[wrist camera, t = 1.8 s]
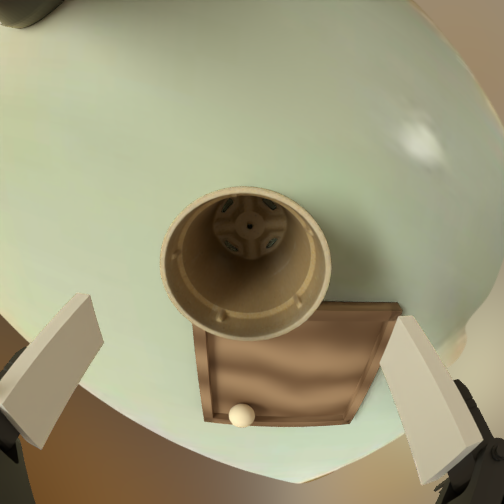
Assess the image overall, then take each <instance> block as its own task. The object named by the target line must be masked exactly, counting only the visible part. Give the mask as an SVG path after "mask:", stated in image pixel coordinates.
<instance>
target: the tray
mask: <svg viewBox="0 0 504 504" xmlns="http://www.w3.org/2000/svg"><path fill="white" fill-rule="evenodd" d="M401 314H402V309H401V307H400V306H399V304H398V303H397V302H330V301H322V302H321V304H320V305H319V307H318V308H317V309H316V311H314V313H313V314H312V315H311V316H310V317H309V318H308V319H307V320H306V321H305V322H304V323H302V324H301V325H300V326H299V327H297V328H295V329H293V330H292V331H290V332H288V333H286V334H283V335H281V336H278V337H274V338H271V339H266V340H258V341H238V340H231V339H226V338H222V337H219V336H216V335H214V334H211V333H209V332H207V331H205V330H203V329H201V328H199V327H198V326H196V325H194V324H193V323H192V326H193V336H194V346H195V355H196V364H197V372H198V380H199V388H200V395H201V402H202V409H203V416H204V422H213V423H222V424H232V423H231V421H230V419H229V412H230V410H231V408H232V407H233V406H235V405H237V404H247V405H249V406H250V407H251V408H252V409H253V410H254V413H255V419H254V421H253V423H252V424H251V425H249V426H269V427H307V426H329V425H342V424H350V422H351V421H352V419H353V417H354V415H355V414H356V412H357V410H358V408H359V406H360V405H361V403H362V401H363V399H364V397H365V395H366V393H367V391H368V389H369V387H370V385H371V383H372V381H373V379H374V377H375V375H376V373H377V371H378V369H379V367H380V361H381V358H382V356H383V354H384V351H385V349H386V347H387V344H388V342H389V339H390V337H391V334H392V332H393V329H394V326H395V324H396V321H397V318H398V316H401Z"/></svg>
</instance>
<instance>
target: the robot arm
mask: <svg viewBox="0 0 504 504" xmlns="http://www.w3.org/2000/svg"><path fill="white" fill-rule="evenodd" d="M63 1H64V0H0V24H1V25H3V26H7V27H12V28H24V27H27V26H30V25H32V24H34V23H36V22H37V21H39V20H40V19H42V18H43V17H45V16H46V15H47V14H49V13H50V12H51V11H52V10H54V9H55V8H56V7H57V6H58V5H59V4H60V3H62V2H63ZM103 344H104V341H103V338H102V335H101V332H100V328H99V325H98V322H97V318H96V315H95V311H94V308H93V304H92V300H91V296H90V295H89V294H82V293H76V294H75V295H74V296H73V297H72V298H71V299H70V300H69V301H68V302H67V303H66V304H65V306H64V307H63V308H62V309H61V310H60V311H59V312H58V313H57V314H56V315H55V316H54V317H53V318H52V319H51V321H50V322H49V323H48V324H47V325H46V326H45V327H44V328H43V329H42V331H41V332H40V333H39V334H38V335H37V336H36V337H35V339H34V340H33V341H32V342H31V343H30V344H29V346H28V347H24V348H22V349H21V350H20V351H18V352H16V353H15V355H14V356H13V357H12V358H11V360H10V361H9V363H7V364H6V366H5V367H4V370H2V371H1V372H0V504H35V501H34V498H33V494H32V491H31V487H30V483H29V479H28V475H27V471H26V467H25V462H24V457H23V452H22V447H21V443H20V440H19V438H18V436H19V434H21V435H22V436H23V438H24V439H25V440H26V441H27V442H29V443H30V444H32V445H34V446H35V447H37V448H39V449H41V450H42V448H43V446H44V444H45V442H46V440H47V438H48V436H49V434H50V432H51V431H52V429H53V427H54V425H55V423H56V421H57V420H58V418H59V416H60V414H61V412H62V411H63V409H64V407H65V405H66V404H67V401H68V400H69V398H70V397H71V395H72V393H73V392H74V390H75V388H76V386H77V385H78V383H79V382H80V380H81V378H82V377H83V375H84V373H85V372H86V370H87V369H88V367H89V365H90V364H91V362H92V361H93V359H94V357H95V356H96V354H97V353H98V351H99V350H100V348H101V347H102V345H103ZM380 366H381V368H382V371H383V373H384V376H385V378H386V381H387V383H388V386H389V389H390V391H391V394H392V397H393V399H394V402H395V405H396V408H397V410H398V413H399V416H400V419H401V422H402V425H403V427H404V430H405V433H406V436H407V439H408V443H409V446H410V449H411V452H412V455H413V458H414V462H415V465H416V468H417V472H418V475H419V479H420V483H421V485H424V484H427V483H430V482H433V481H435V480H438V479H439V478H441V477H442V476H443V475H445V474H446V473H447V472H448V475H449V478H447V479H446V480H445V481H443V482H442V483H441V484H439V485H438V486H436V488H435V489H434V491H437V490H439V489H440V488H442V487H443V488H442V490H441V491H440V492H439V493H440V495H439V497H438V499H437V502H436V504H504V440H503V439H502V438H494V437H493V436H492V434H491V432H490V430H489V428H488V426H487V424H486V422H485V420H484V418H483V416H482V414H481V412H480V410H479V408H477V405H476V403H475V401H474V399H472V398H473V397H472V396H471V394H470V392H469V390H468V388H467V387H466V386H465V385H464V384H463V383H462V382H461V381H460V380H458V379H457V380H453V379H452V377H451V376H450V374H449V372H448V371H447V369H446V367H445V365H444V364H443V362H442V360H441V359H440V357H439V355H438V354H437V352H436V351H435V349H434V347H433V346H432V344H431V342H430V341H429V339H428V338H427V336H426V335H425V333H424V332H423V330H422V328H421V327H420V325H419V324H418V322H417V321H416V319H415V318H414V316H398V318H397V321H396V324H395V326H394V329H393V332H392V334H391V337H390V339H389V342H388V344H387V347H386V349H385V351H384V354H383V356H382V358H381V361H380Z"/></svg>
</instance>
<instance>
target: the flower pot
mask: <svg viewBox="0 0 504 504" xmlns="http://www.w3.org/2000/svg"><path fill="white" fill-rule="evenodd" d="M264 198H266V199H269V200H271V201H272V202H273V204H275V206H276V209H274V210H272V209H271V208H270V207H269V206H268V205H267V204H266V203H264V202H263V199H264ZM229 199H231V200H233V204H232V205H230V206H229V207H228V209H227V210H226V211H225V212H222V210H223V207H224V205H225V204H226V202H227V201H228V200H229ZM248 224H251V225H252V228H250V229H249V228H248V227H247V225H248ZM274 238H276V239H277V240H276V241H275V243H274V244H273V245H272V246H271V247H266V246H267V245H268V244H269V241H271V240H273V239H274ZM225 241H228V242H229V243H230V244H231V245H233V246H234V247H235V248H237V249H238V250H237V251H234V250H231V249H230V248H228V247H227V246H226V244H225ZM331 269H332V265H331V254H330V250H329V246H328V243H327V240H326V238H325V236H324V234H323V232H322V230H321V228H320V227H319V225H318V224H317V222H316V221H315V220H314V218H313V217H312V216H311V215H310V214H309V213H308V212H307V211H306V210H305V209H304V208H303V207H301V206H300V205H299V204H298V203H296V202H295V201H293V200H291V199H289V198H288V197H286V196H284V195H281V194H279V193H277V192H274V191H271V190H268V189H263V188H258V187H246V186H240V187H230V188H224V189H221V190H217V191H214V192H212V193H209V194H206V195H204V196H202V197H200V198H198V199H197V200H195V201H194V202H192V203H191V204H190V205H188V206H187V207H186V208H185V209H184V210H183V211H182V212H181V213H180V214H179V215H178V216H177V217H176V218H175V220H174V221H173V222H172V224H171V226H170V227H169V229H168V231H167V233H166V235H165V237H164V240H163V243H162V247H161V253H160V274H161V279H162V281H163V285H164V288H165V290H166V292H167V294H168V297H169V299H170V300H171V302H172V303H173V304H174V306H175V307H176V308H177V310H178V311H179V312H180V313H181V314H182V315H183V316H184V317H185V318H187V319H188V320H189V321H190V322H191V323H193V324H194V325H196V326H198V327H199V328H201V329H203V330H205V331H207V332H209V333H211V334H214V335H216V336H219V337H222V338H226V339H231V340H238V341H258V340H266V339H271V338H274V337H278V336H281V335H283V334H286V333H288V332H290V331H292V330H293V329H295V328H297V327H299V326H300V325H301V324H302V323H304V322H305V321H306V320H307V319H308V318H309V317H310V316H311V315H312V314H313V313H314V311H316V309H317V308H318V307H319V305H320V304H321V302H322V301H323V298H324V296H325V295H326V291H327V289H328V286H329V283H330V276H331Z"/></svg>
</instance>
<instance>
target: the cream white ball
mask: <svg viewBox="0 0 504 504" xmlns="http://www.w3.org/2000/svg"><path fill="white" fill-rule="evenodd" d="M229 419H230V421H231V423H232V424H233V425H235V426H237V427H240V428H244V427H247V426H249V425H251V424H252V423H253V421H254V419H255V413H254V410H253V409H252V408H251V407H250V406H249V405H247V404H237V405H235V406H233V407H232V408H231V410H230V412H229Z"/></svg>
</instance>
